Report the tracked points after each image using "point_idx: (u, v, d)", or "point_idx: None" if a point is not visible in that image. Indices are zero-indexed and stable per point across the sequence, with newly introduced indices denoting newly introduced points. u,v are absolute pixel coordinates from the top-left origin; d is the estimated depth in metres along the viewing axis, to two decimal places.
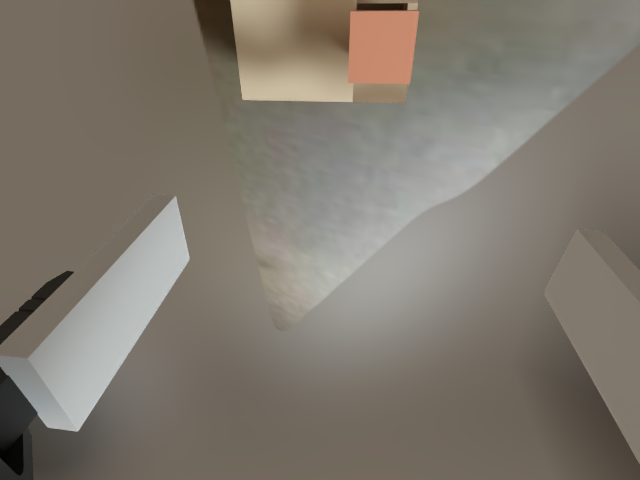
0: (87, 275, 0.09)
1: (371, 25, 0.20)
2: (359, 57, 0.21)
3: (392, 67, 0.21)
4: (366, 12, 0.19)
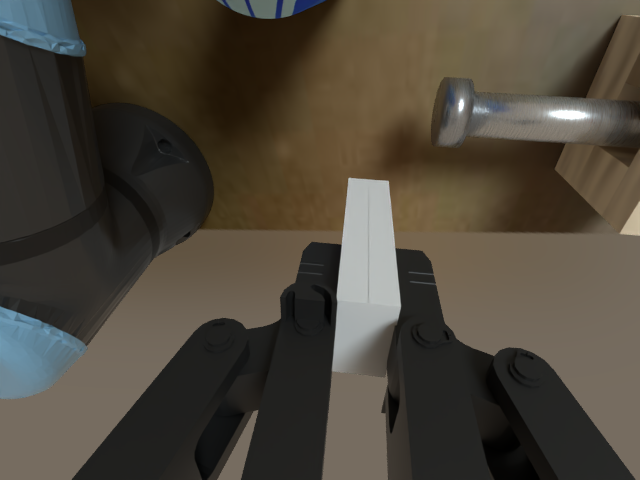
0: (356, 242, 0.10)
1: None
2: None
3: None
4: None
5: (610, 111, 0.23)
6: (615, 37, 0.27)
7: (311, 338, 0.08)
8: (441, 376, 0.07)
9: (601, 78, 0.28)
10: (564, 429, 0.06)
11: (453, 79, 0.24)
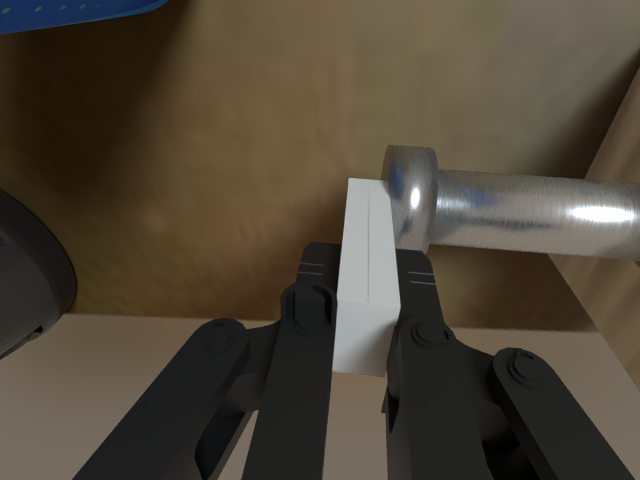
0: (356, 242, 0.10)
1: None
2: None
3: None
4: None
5: None
6: None
7: (311, 338, 0.08)
8: (441, 376, 0.07)
9: (621, 132, 0.17)
10: (564, 429, 0.06)
11: (402, 153, 0.13)
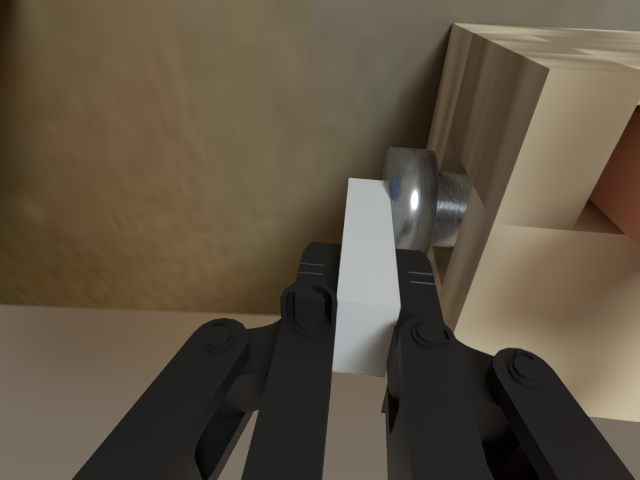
0: (356, 242, 0.10)
1: None
2: None
3: None
4: None
5: None
6: (447, 59, 0.16)
7: (311, 338, 0.08)
8: (441, 376, 0.07)
9: (436, 122, 0.18)
10: (564, 429, 0.06)
11: (402, 155, 0.13)
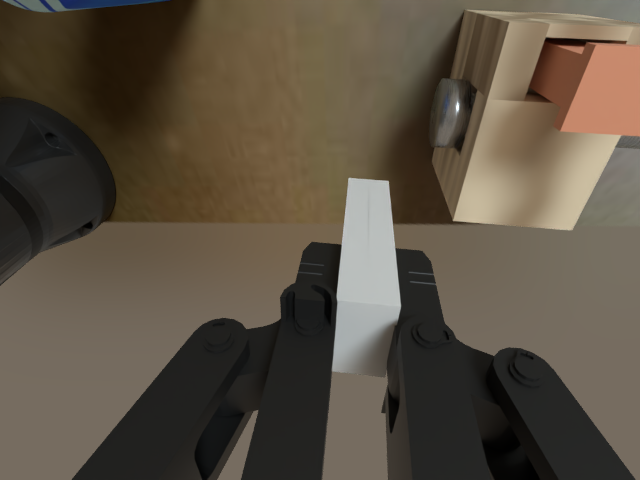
0: (356, 242, 0.10)
1: (585, 106, 0.16)
2: (616, 121, 0.17)
3: None
4: (568, 112, 0.17)
5: None
6: (461, 31, 0.28)
7: (311, 338, 0.08)
8: (441, 376, 0.07)
9: (454, 71, 0.29)
10: (564, 429, 0.06)
11: (450, 80, 0.24)
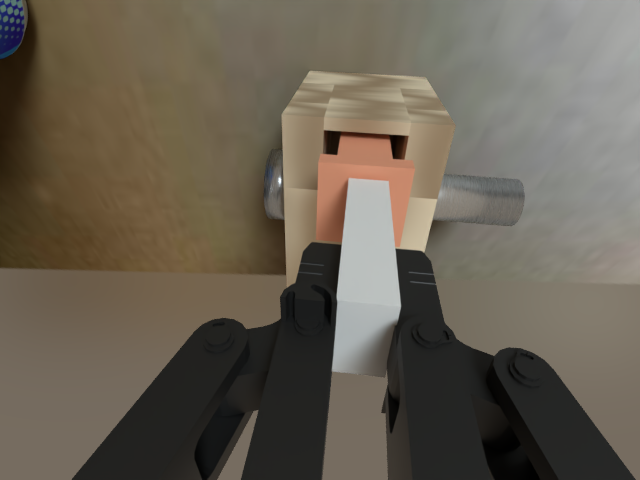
0: (356, 242, 0.10)
1: (332, 218, 0.15)
2: None
3: None
4: (317, 223, 0.15)
5: None
6: None
7: (311, 338, 0.08)
8: (441, 376, 0.07)
9: None
10: (564, 429, 0.06)
11: (275, 153, 0.23)
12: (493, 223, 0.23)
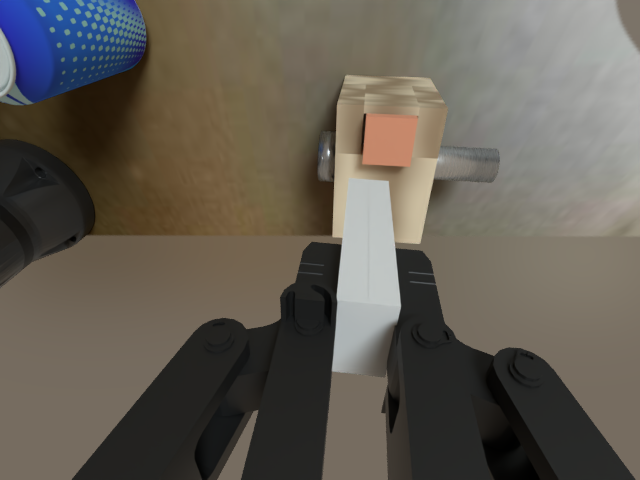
0: (356, 242, 0.10)
1: (372, 150, 0.27)
2: (392, 158, 0.27)
3: (403, 133, 0.26)
4: (364, 153, 0.27)
5: (438, 156, 0.32)
6: None
7: (311, 338, 0.08)
8: (441, 376, 0.07)
9: None
10: (564, 429, 0.06)
11: (325, 133, 0.33)
12: (479, 180, 0.33)
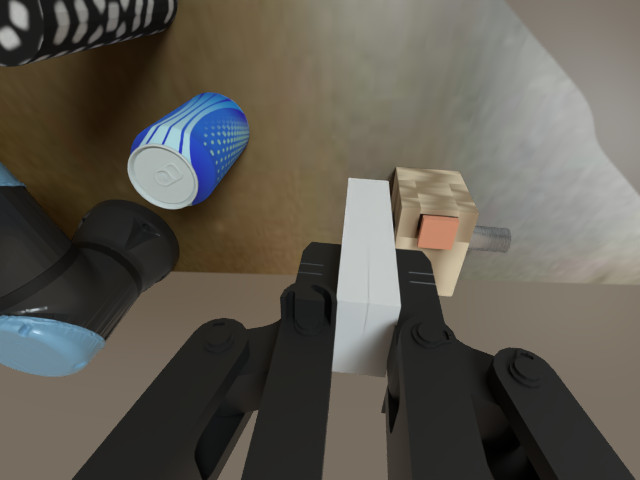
0: (356, 242, 0.10)
1: (425, 238, 0.39)
2: (439, 244, 0.39)
3: (448, 230, 0.38)
4: (419, 240, 0.39)
5: None
6: (394, 178, 0.48)
7: (311, 338, 0.08)
8: (441, 376, 0.07)
9: (392, 198, 0.49)
10: (564, 429, 0.06)
11: None
12: (495, 251, 0.45)
